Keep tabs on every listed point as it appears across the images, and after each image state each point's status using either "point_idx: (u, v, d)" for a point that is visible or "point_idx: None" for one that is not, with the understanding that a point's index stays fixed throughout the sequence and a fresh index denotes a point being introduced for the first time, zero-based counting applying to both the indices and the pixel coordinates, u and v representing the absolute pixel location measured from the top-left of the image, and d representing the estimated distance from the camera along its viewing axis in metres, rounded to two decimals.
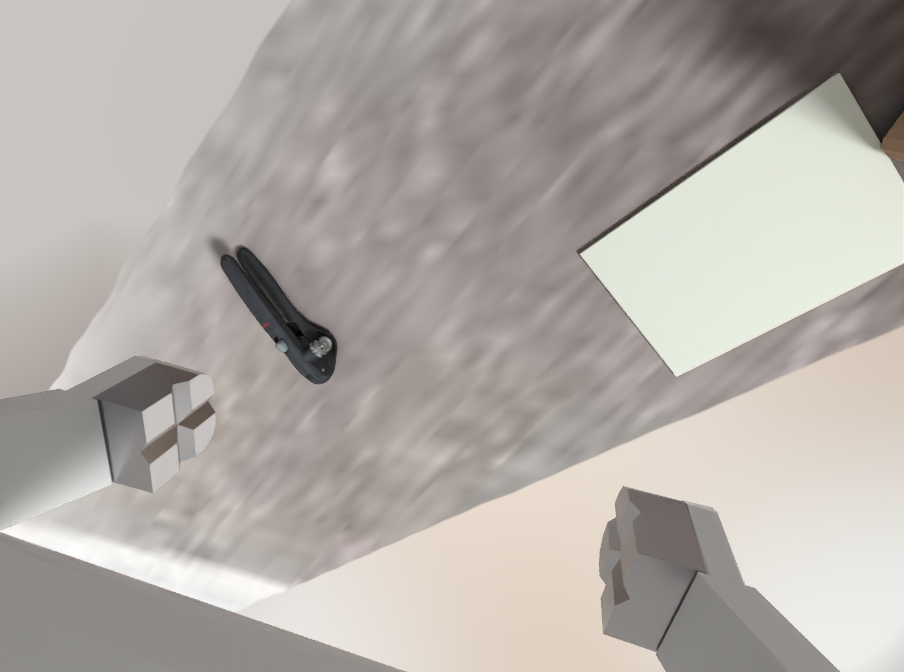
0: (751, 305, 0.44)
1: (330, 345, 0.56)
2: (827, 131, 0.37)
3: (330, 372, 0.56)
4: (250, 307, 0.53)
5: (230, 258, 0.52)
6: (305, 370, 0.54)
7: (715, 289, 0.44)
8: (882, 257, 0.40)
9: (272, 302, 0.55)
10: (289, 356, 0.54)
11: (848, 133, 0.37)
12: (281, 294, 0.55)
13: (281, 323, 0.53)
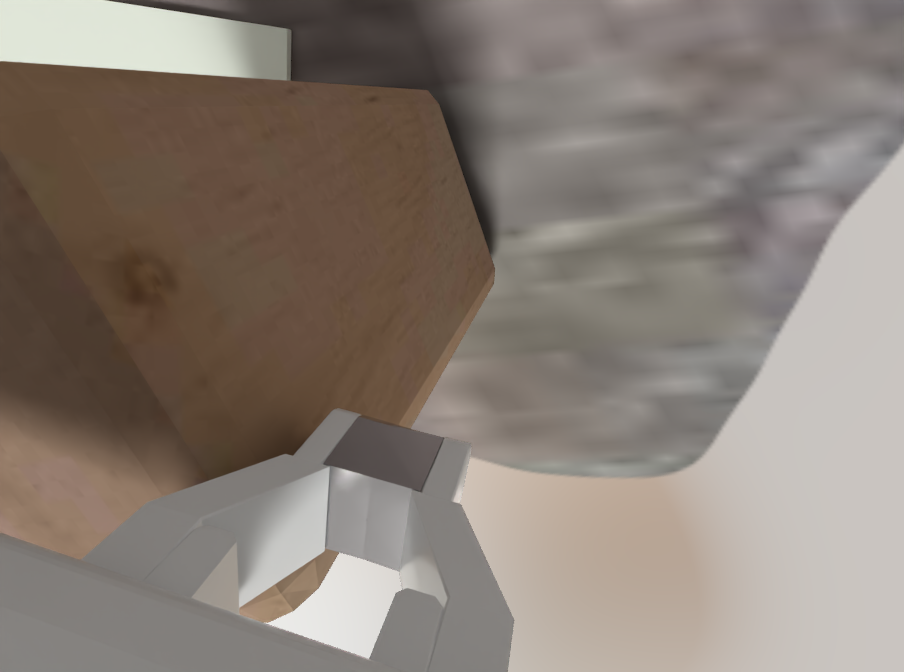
0: None
1: None
2: None
3: None
4: None
5: None
6: None
7: None
8: None
9: None
10: None
11: None
12: None
13: None
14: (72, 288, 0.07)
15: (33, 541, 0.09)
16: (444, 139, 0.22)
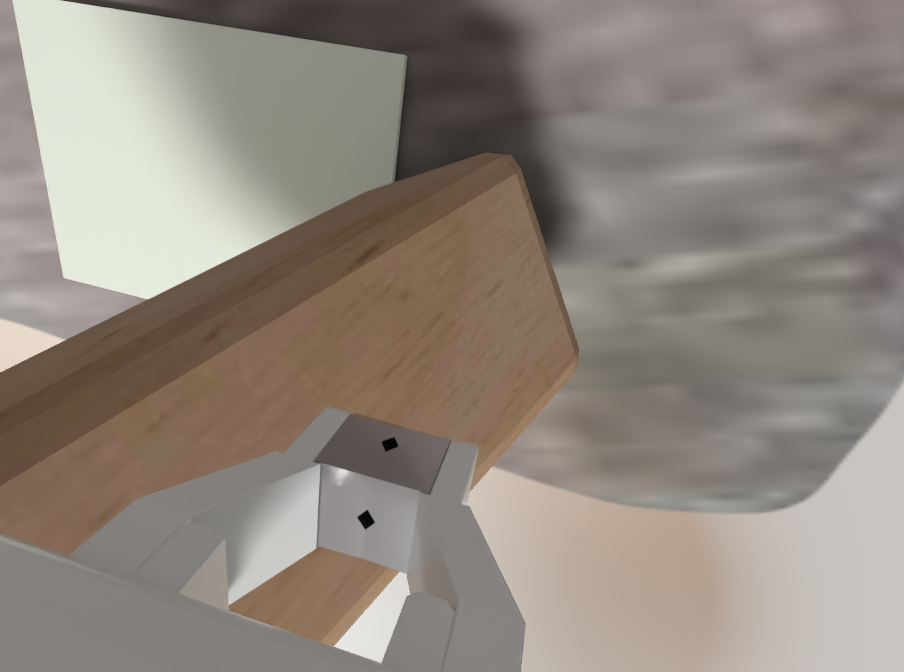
0: (179, 261, 0.30)
1: None
2: (355, 119, 0.25)
3: None
4: None
5: None
6: None
7: (151, 205, 0.29)
8: None
9: None
10: None
11: (371, 144, 0.25)
12: None
13: None
14: None
15: None
16: (513, 224, 0.18)
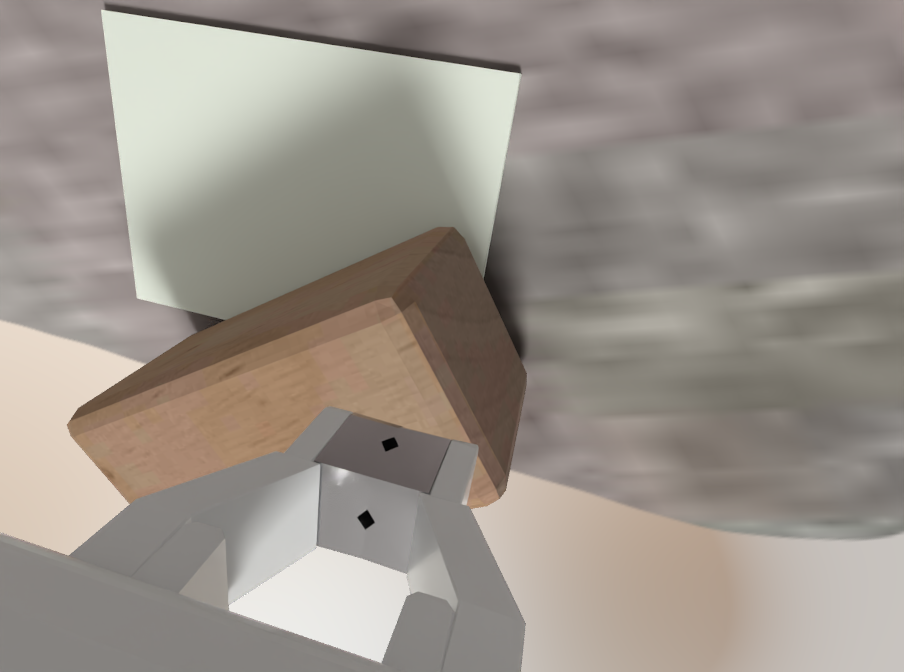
0: (261, 282, 0.29)
1: None
2: (461, 139, 0.24)
3: None
4: None
5: None
6: None
7: (236, 225, 0.28)
8: None
9: None
10: None
11: (477, 165, 0.24)
12: None
13: None
14: None
15: None
16: (377, 367, 0.17)
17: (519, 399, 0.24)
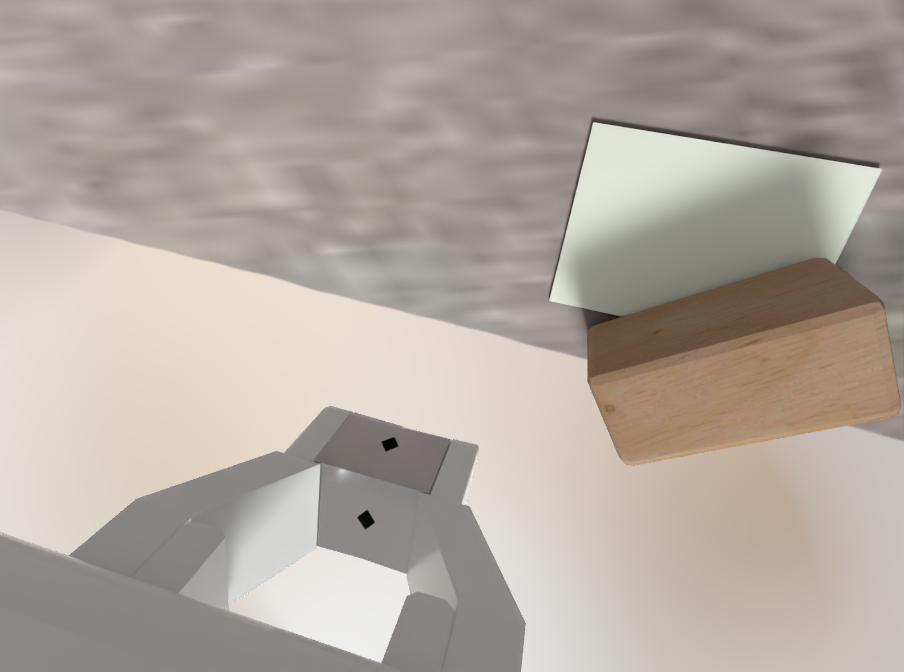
0: (654, 290, 0.45)
1: None
2: (831, 204, 0.39)
3: None
4: None
5: None
6: None
7: (647, 254, 0.44)
8: None
9: None
10: None
11: (838, 220, 0.40)
12: None
13: None
14: (599, 405, 0.41)
15: None
16: (858, 338, 0.33)
17: None
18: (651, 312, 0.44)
